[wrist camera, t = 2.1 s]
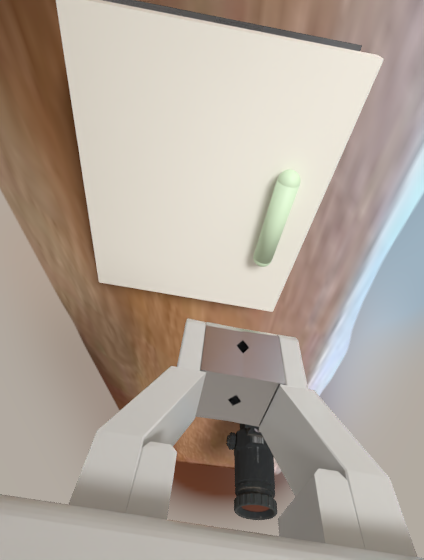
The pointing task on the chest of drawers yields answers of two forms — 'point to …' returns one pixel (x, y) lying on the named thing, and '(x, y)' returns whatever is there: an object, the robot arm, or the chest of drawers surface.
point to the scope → (253, 474)
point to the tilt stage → (204, 146)
